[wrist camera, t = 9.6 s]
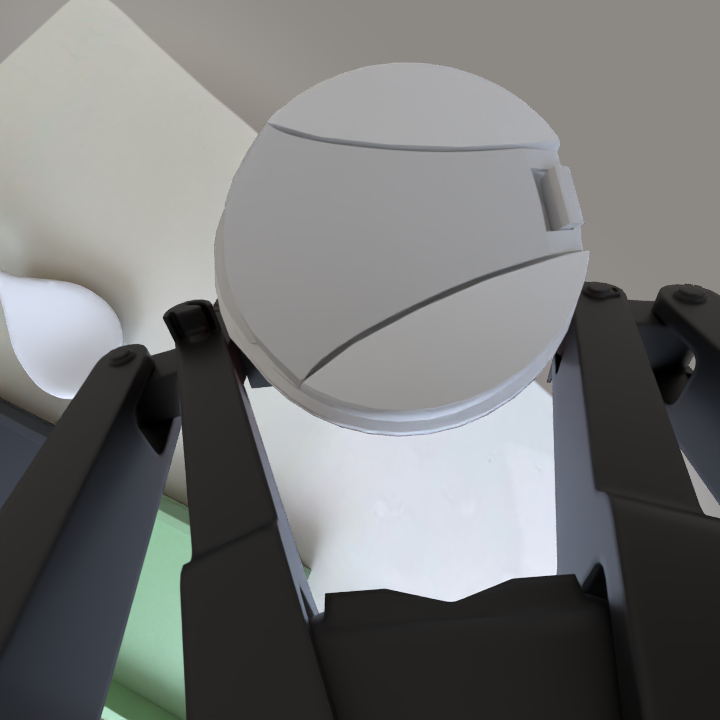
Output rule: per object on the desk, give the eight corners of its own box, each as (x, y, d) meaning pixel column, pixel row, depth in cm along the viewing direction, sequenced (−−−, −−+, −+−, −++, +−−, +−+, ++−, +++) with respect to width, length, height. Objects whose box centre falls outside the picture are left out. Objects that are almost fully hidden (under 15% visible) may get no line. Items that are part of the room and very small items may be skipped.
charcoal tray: (130, 463, 32) (108, 468, 29) (45, 629, 30) (14, 649, 28) (-7, 394, 33) (-40, 392, 31) (-95, 548, 32) (-137, 561, 29)
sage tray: (311, 569, 30) (305, 584, 27) (231, 752, 28) (216, 786, 26) (158, 491, 31) (138, 498, 29) (73, 661, 30) (44, 684, 27)
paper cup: (441, 274, 21) (562, 2, 7) (468, 407, 20) (676, 400, 6) (306, 297, 21) (167, 79, 7) (325, 431, 20) (204, 477, 6)
